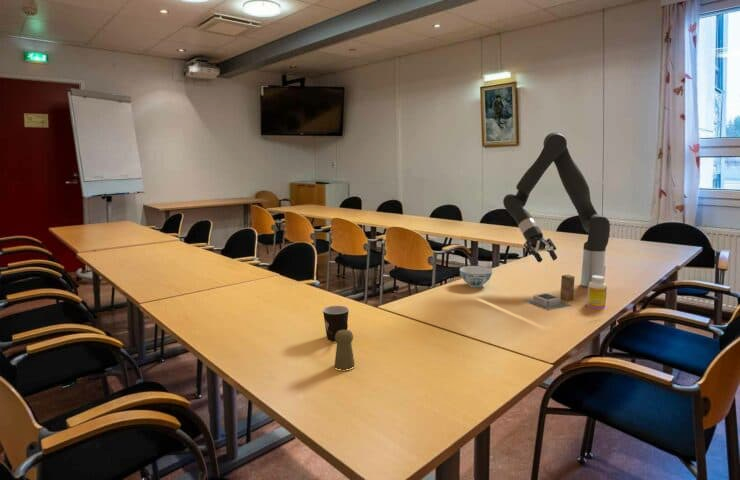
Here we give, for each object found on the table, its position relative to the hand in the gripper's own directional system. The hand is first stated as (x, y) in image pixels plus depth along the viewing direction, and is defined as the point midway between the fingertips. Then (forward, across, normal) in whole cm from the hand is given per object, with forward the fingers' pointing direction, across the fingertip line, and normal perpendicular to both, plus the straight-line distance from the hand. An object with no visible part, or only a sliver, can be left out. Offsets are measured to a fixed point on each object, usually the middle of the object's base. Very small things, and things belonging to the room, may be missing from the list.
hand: (548, 260), depth 200 cm
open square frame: (+18, -11, +2) cm, 21 cm away
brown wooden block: (+19, 0, +3) cm, 19 cm away
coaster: (+19, -11, +3) cm, 22 cm away
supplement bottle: (+27, +4, -5) cm, 27 cm away
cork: (+30, -106, -8) cm, 111 cm away
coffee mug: (+16, -101, +6) cm, 102 cm away
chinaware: (-7, -19, +29) cm, 35 cm away
